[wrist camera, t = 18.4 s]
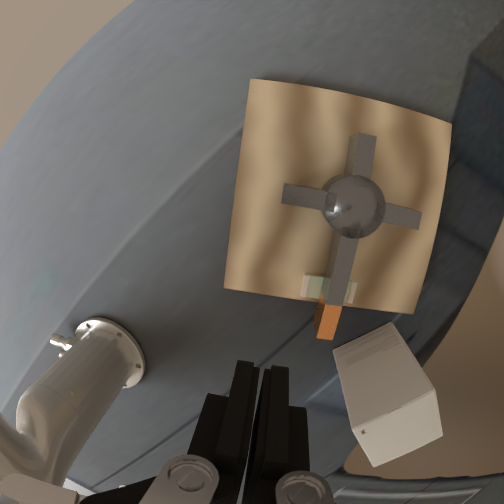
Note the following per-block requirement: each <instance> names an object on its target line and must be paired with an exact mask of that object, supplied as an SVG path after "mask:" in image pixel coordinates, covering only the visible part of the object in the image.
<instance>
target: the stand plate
mask: <svg viewBox="0 0 504 504" xmlns="http://www.w3.org/2000/svg"><path fill="white" fill-rule="evenodd" d="M451 130H452V124H450V123H448V122H445V121H442V120H439V119H437V118H434V117H431V116H428V115H425V114H422V113H419V112H415V111H412V110H409V109H406V108H402V107H399V106H395V105H392V104H388V103H385V102H381V101H377V100H373V99H369V98H365V97H361V96H357V95H352V94H348V93H343V92H338V91H333V90H328V89H323V88H317V87H311V86H305V85H299V84H292V83H285V82H277V81H269V80H260V79H251V80H250V87H249V94H248V100H247V107H246V114H245V121H244V128H243V136H242V143H241V150H240V158H239V165H238V173H237V180H236V188H235V196H234V204H233V212H232V220H231V228H230V237H229V245H228V254H227V262H226V271H225V280H224V288H228V289H234V290H240V291H246V292H252V293H258V294H265V295H271V296H278V297H284V298H291V299H298V300H305V301H312V302H318V300H319V299H317V298H309V297H301V296H300V293H301V288H302V283H303V278H304V273H307V274H313V275H320V276H324V274H325V270H326V265H327V261H328V256H329V251H330V247H331V242H332V237H333V232H334V229H333V228H332V227H331V226H330V225H329V223H328V222H327V221H326V220H325V219H324V217H323V216H322V214H321V211H320V210H316V209H311V208H305V207H299V206H294V205H288V204H282V203H281V196H282V189H283V183H284V182H285V183H291V184H297V185H302V186H308V187H314V188H319V189H322V188H323V186H324V185H325V183H326V182H327V181H328V180H330V179H331V178H333V177H335V176H337V175H341V174H344V171H345V165H346V158H347V152H348V145H349V138H350V136H352V135H354V134H356V133H358V132H360V133H364V134H369V135H373V136H377V139H376V146H375V153H374V160H373V166H372V172H371V180H372V181H374V182H375V183H376V184H377V185H378V186H379V188H380V189H381V191H382V193H383V195H384V198H385V202H387V203H391V204H396V205H400V206H404V207H408V208H411V209H414V210H417V211H420V212H422V216H421V221H420V226H419V230H416V229H411V228H407V227H402V226H397V225H393V224H388V223H383V222H382V223H381V225H380V226H379V227H378V229H377V230H376V231H374V232H373V233H372V234H370V235H368V236H366V237H363V238H359V241H358V245H357V250H356V254H355V258H354V263H353V267H352V271H351V275H350V279H349V280H354V281H357V287H356V291H355V295H354V299H353V302H352V304H351V303H346V302H343V306H349V307H357V308H365V309H373V310H382V311H390V312H399V313H408V314H414V311H415V308H416V305H417V301H418V298H419V295H420V292H421V288H422V285H423V282H424V278H425V275H426V271H427V267H428V264H429V260H430V256H431V252H432V248H433V244H434V239H435V235H436V230H437V226H438V221H439V216H440V211H441V205H442V200H443V194H444V188H445V182H446V175H447V168H448V160H449V151H450V141H451Z"/></svg>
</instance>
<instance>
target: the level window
mask: <svg viewBox="0 0 504 504" xmlns="http://www.w3.org/2000/svg"><path fill="white" fill-rule="evenodd" d="M323 279H324V276H320V275H313V274H307V273H304V278H303V283H302V288H301V293H300V296H301V297H309V298H317V299H319V296H320V292H321V287H322V283H323ZM356 287H357V281H354V280H349V283H348V287H347V291H346V295H345V298H344V302H346V303H351V304H352V302H353V299H354V295H355V291H356Z"/></svg>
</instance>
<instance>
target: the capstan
mask: <svg viewBox="0 0 504 504" xmlns="http://www.w3.org/2000/svg"><path fill="white" fill-rule="evenodd" d="M376 139H377V136H373V135H369V134H364V133H360V132H358V133H356V134H354V135H352V136H350V138H349V145H348V152H347V158H346V165H345V171H344V174H341V175H337V176H335V177H333V178H331V179H330V180H328V181H327V182H326V183H325V185H324V186H323V188H322V189H319V188H314V187H308V186H302V185H297V184H291V183H285V182H284V183H283V189H282V196H281V203H282V204H288V205H294V206H299V207H305V208H311V209H316V210H320V211H321V214H322V216H323V217H324V219H325V220H326V221H327V222H328V223H329V225H330V226H331V227H332V228H333V229H334V232H333V237H332V242H331V247H330V251H329V256H328V261H327V265H326V270H325V274H324V279H323V283H322V287H321V292H320V296H319V300H318V304H317V308H316V312H315V316H314V320H313V322H314V327H315V333H316V338H319V339H327V340H333V337H334V334H335V331H336V327H337V324H338V320H339V317H340V313H341V309H342V306H343V302H344V298H345V295H346V291H347V287H348V283H349V279H350V275H351V271H352V267H353V263H354V258H355V254H356V250H357V245H358V241H359V238H363V237H366V236H368V235H370V234H372V233H373V232H374V231H376V230H377V229H378V227H379V226H380V225H381V223H382V222H383V223H388V224H393V225H397V226H402V227H407V228H411V229H416V230H419V226H420V221H421V216H422V212H420V211H417V210H414V209H411V208H408V207H404V206H400V205H396V204H391V203H387V202H385V198H384V195H383V193H382V191H381V189H380V188H379V186H378V185H377V184H376V183H375V182H374V181H372V180H371V172H372V166H373V160H374V153H375V146H376Z"/></svg>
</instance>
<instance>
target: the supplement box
mask: <svg viewBox="0 0 504 504" xmlns="http://www.w3.org/2000/svg"><path fill="white" fill-rule="evenodd" d="M333 354H334V358H335V362H336V366H337V370H338V374H339V378H340V382H341V386H342V390H343V394H344V398H345V402H346V406H347V411H348V415H349V419H350V424H351V429H352V431H353V433H354V435H355V436H356V438H357V440H358V441H359V443H360V445H361V446H362V448H363V450H364V452H365V453H366V455H367V457H368V458H369V460H370V462H371V463H372V466H373V467H376V466H378V465H380V464H383V463H386V462H388V461H390V460H393V459H395V458H397V457H400V456H402V455H404V454H406V453H409V452H411V451H413V450H415V449H417V448H419V447H421V446H423V445H425V444H427V443H429V442H431V441H433V440H435V439H437V438H439V437H441V436H443V433H442V427H441V421H440V415H439V408H438V402H437V396H436V391H435V388H434V387H433V385H432V384H431V382H430V381H429V379H428V378H427V376H426V374H425V373H424V371H423V370H422V368H421V366H420V365H419V363H418V361H417V360H416V358H415V357H414V355H413V354H412V352H411V351H410V349H409V347H408V346H407V344H406V343H405V341H404V340H403V338H402V337H401V335H400V334H399V332H398V331H397V329H396V328H395V326H394V324H393V323H392V322H389V323H387V324H385V325H383V326H381V327H379V328H377V329H375V330H373V331H371V332H369V333H367V334H365V335H363V336H361V337H359V338H357V339H355V340H352V341H350V342H348V343H346V344H344V345H342V346H340V347H337V348H335V349H333Z"/></svg>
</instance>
